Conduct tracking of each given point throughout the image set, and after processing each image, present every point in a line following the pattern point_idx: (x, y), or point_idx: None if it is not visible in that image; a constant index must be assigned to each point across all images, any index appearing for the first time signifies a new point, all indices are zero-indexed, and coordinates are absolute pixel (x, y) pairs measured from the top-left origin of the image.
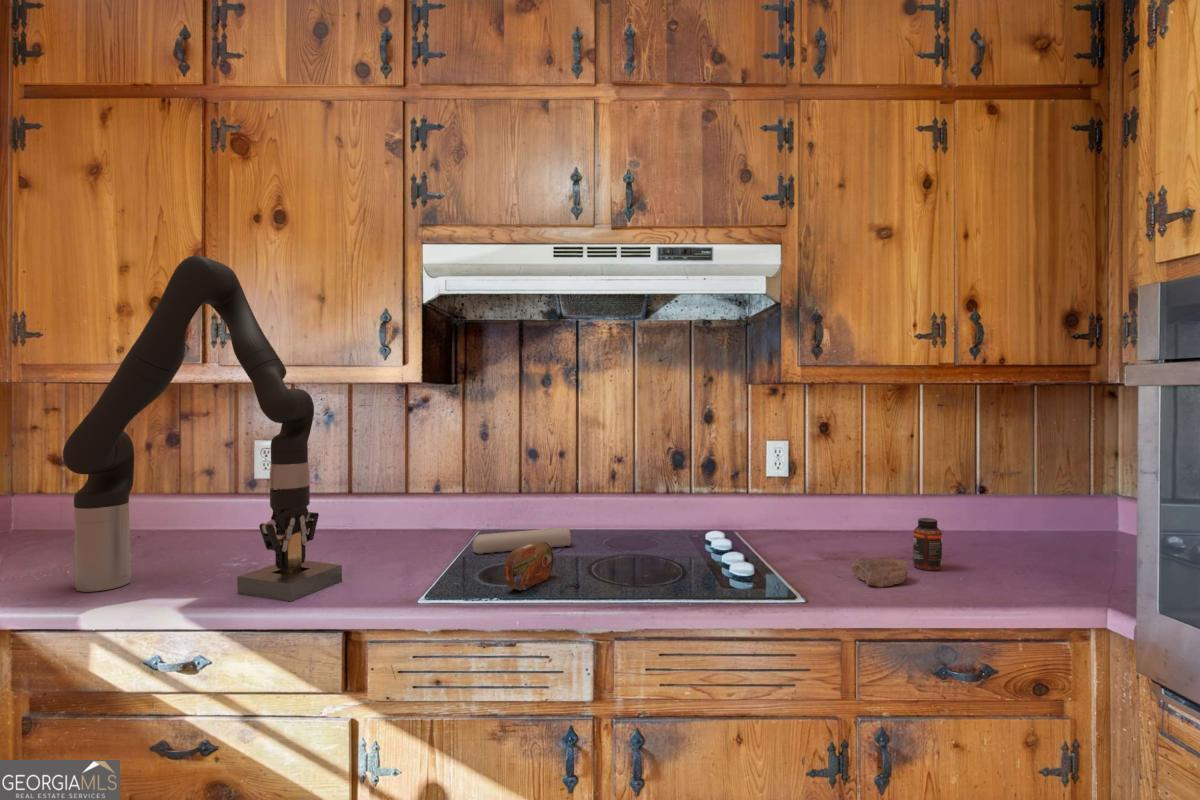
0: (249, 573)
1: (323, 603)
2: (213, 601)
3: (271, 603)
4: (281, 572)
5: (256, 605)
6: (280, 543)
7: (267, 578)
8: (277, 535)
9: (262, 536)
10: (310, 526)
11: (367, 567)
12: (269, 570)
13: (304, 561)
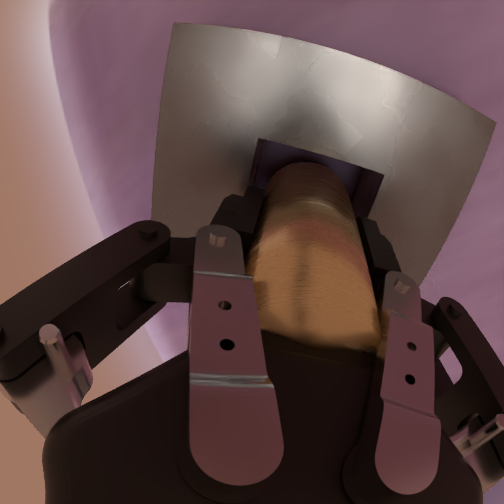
0: (229, 40)
1: (185, 327)
2: (115, 22)
3: (144, 212)
4: (266, 188)
5: (118, 181)
6: (252, 265)
7: (174, 179)
8: (190, 316)
9: (49, 274)
10: (438, 413)
11: (490, 311)
12: (296, 107)
13: (453, 200)
